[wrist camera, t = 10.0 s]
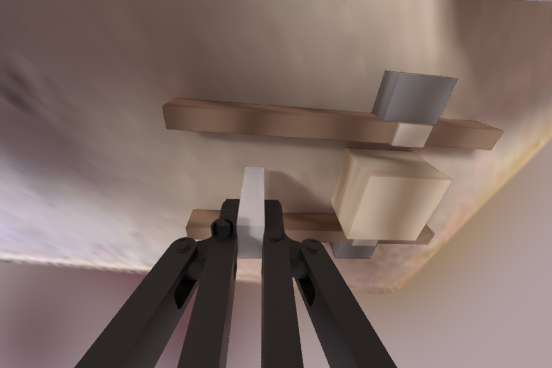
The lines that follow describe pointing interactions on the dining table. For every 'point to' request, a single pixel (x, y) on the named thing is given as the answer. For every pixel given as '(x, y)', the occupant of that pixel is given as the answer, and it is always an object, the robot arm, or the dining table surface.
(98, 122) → the dining table surface
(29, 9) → the dining table surface
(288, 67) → the dining table surface
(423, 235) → the beam slot
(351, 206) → the block
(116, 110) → the dining table surface
